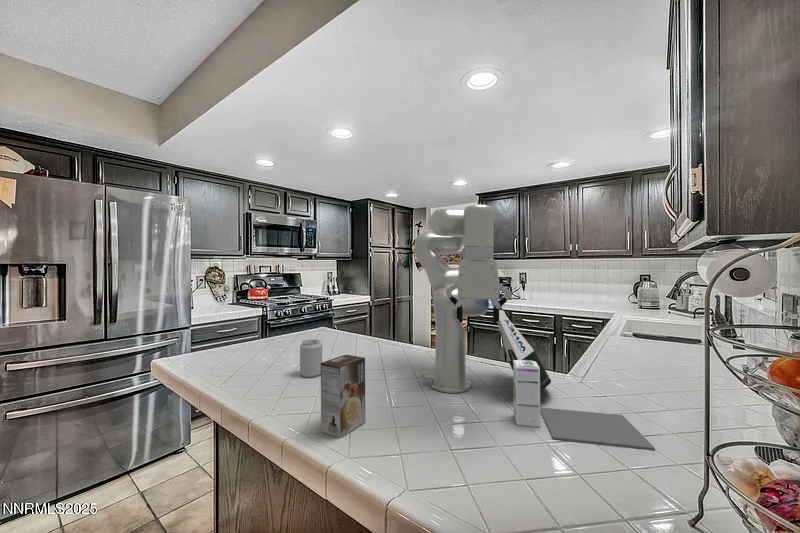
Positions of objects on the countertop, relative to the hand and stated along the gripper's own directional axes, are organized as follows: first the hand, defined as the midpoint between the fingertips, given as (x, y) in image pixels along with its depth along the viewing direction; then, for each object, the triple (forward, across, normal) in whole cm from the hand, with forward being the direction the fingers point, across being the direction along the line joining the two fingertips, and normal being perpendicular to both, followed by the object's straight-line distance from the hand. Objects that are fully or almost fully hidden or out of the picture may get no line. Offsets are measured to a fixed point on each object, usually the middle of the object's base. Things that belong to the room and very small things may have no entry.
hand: (477, 322), depth 87 cm
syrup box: (+24, +12, 0) cm, 27 cm away
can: (+24, -56, +20) cm, 64 cm away
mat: (+24, +26, 0) cm, 36 cm away
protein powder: (+22, +18, +19) cm, 34 cm away
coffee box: (+24, -31, -13) cm, 41 cm away
